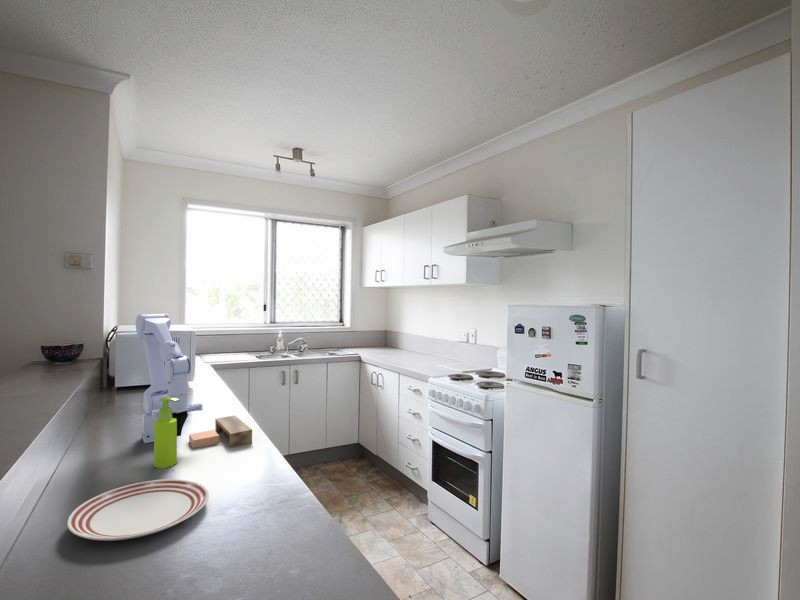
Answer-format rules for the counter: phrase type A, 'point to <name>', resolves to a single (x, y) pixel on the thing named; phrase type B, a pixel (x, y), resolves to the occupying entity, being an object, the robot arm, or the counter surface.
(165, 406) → the soap dispenser
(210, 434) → the peach rectangular block
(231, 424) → the wooden bridge block
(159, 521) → the dinner plate
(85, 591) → the counter surface
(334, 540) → the counter surface
